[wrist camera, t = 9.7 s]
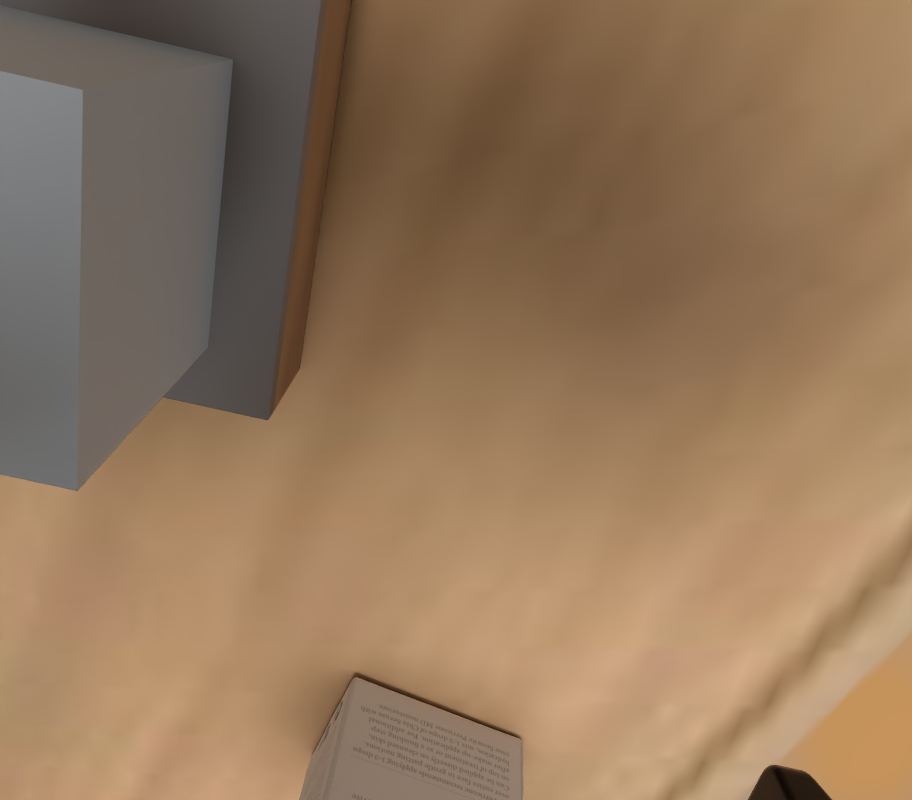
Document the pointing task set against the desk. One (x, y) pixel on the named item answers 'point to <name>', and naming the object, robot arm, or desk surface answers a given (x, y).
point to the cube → (100, 234)
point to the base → (251, 174)
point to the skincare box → (409, 753)
